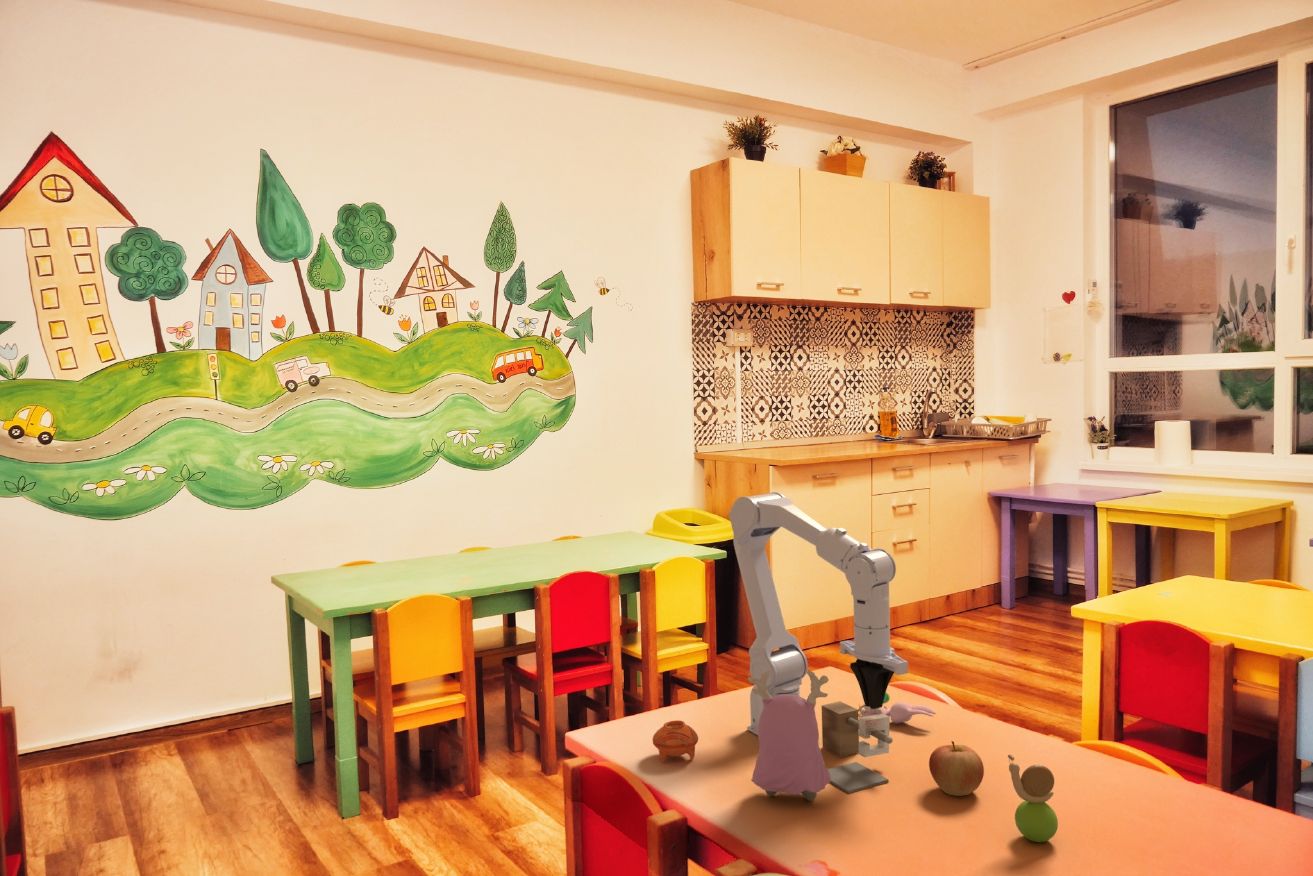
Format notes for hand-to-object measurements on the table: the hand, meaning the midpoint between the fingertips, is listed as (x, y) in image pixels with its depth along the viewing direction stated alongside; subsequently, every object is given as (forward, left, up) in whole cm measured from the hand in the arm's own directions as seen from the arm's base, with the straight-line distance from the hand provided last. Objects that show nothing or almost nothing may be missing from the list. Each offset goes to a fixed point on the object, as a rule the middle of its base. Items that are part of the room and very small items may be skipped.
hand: (873, 706), depth 146 cm
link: (0, 0, -8) cm, 8 cm away
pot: (-21, -26, -11) cm, 35 cm away
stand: (-4, 0, -10) cm, 11 cm away
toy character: (+1, -18, -11) cm, 21 cm away
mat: (+1, -5, -10) cm, 12 cm away
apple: (+13, +5, -11) cm, 18 cm away
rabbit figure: (-14, +17, -11) cm, 24 cm away
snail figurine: (+29, +3, -11) cm, 31 cm away
